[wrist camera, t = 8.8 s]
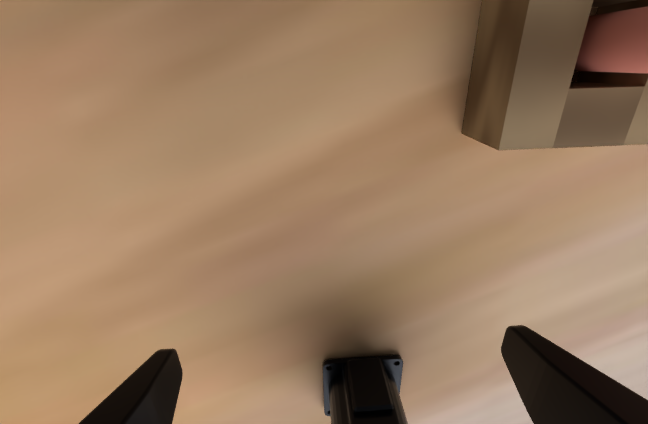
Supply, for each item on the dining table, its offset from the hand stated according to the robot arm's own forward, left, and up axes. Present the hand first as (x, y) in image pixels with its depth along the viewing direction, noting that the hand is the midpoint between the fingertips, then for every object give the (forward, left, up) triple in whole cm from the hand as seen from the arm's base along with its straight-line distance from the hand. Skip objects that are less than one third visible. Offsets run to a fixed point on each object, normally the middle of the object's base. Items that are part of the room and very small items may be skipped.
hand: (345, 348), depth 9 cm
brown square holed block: (+7, -13, -12) cm, 20 cm away
